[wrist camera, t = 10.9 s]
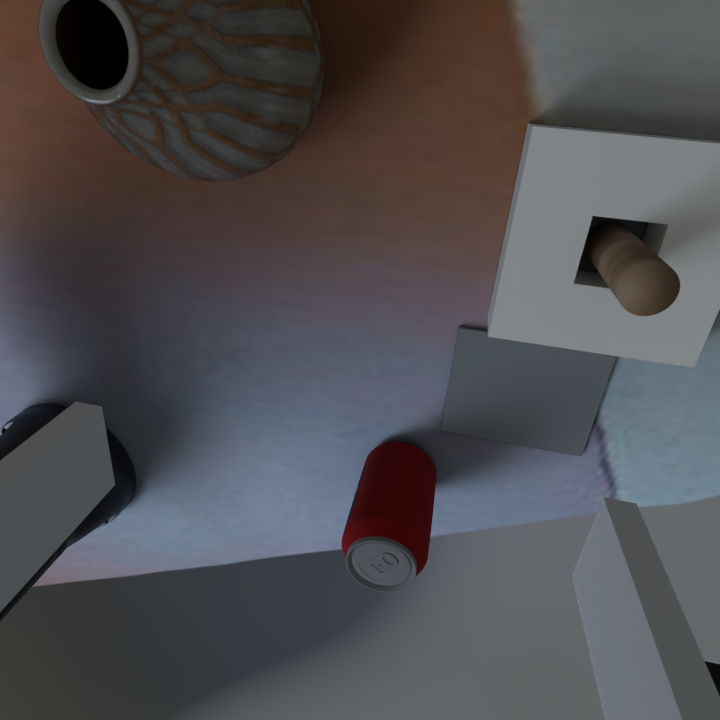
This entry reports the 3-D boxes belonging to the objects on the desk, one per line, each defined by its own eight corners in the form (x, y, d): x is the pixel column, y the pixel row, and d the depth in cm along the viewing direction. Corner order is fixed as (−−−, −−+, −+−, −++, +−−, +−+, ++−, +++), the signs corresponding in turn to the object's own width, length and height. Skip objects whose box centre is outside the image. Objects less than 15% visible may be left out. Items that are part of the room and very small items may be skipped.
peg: (579, 261, 37) (611, 312, 29) (590, 219, 36) (627, 259, 27) (623, 266, 37) (668, 319, 28) (636, 223, 35) (688, 266, 27)
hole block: (487, 318, 41) (487, 336, 38) (528, 123, 34) (533, 125, 31) (677, 346, 39) (694, 367, 36) (759, 144, 32) (788, 150, 29)
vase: (253, 202, 40) (115, 268, 25) (130, 51, 37) (-113, 21, 22) (385, 80, 35) (312, 69, 19) (254, -110, 31) (43, -302, 16)
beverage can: (352, 463, 50) (318, 560, 39) (398, 423, 47) (376, 518, 36) (403, 504, 51) (384, 611, 40) (452, 469, 48) (445, 574, 37)
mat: (440, 428, 46) (440, 431, 46) (459, 326, 41) (459, 328, 41) (580, 453, 44) (581, 456, 44) (616, 349, 40) (618, 352, 39)
